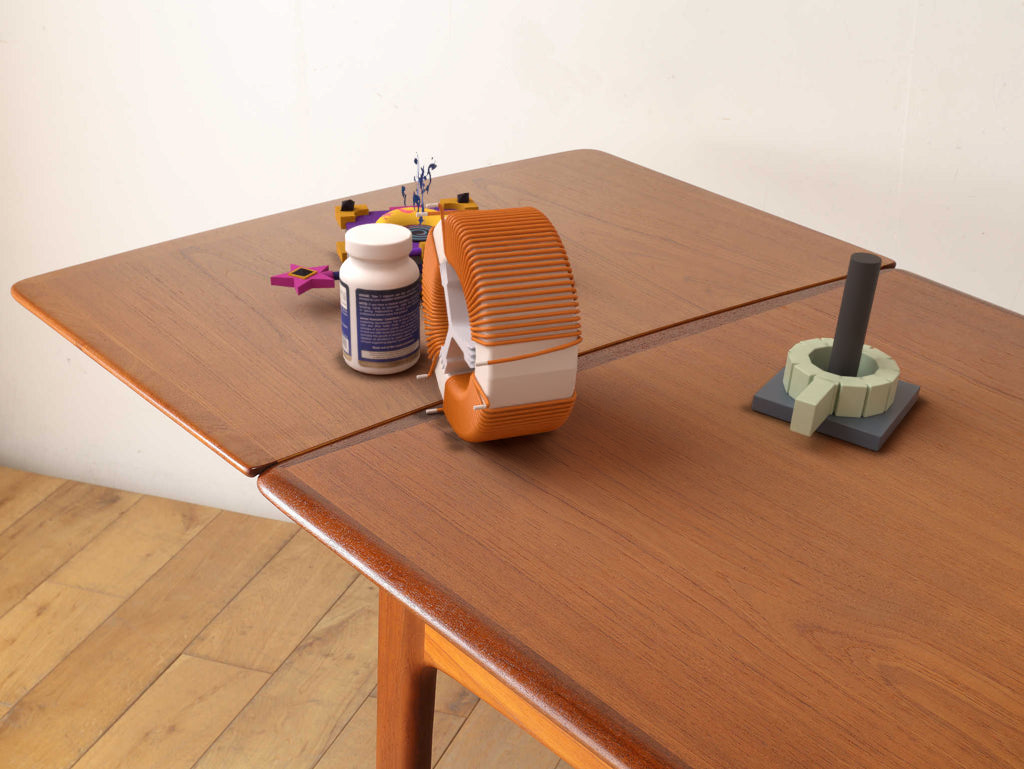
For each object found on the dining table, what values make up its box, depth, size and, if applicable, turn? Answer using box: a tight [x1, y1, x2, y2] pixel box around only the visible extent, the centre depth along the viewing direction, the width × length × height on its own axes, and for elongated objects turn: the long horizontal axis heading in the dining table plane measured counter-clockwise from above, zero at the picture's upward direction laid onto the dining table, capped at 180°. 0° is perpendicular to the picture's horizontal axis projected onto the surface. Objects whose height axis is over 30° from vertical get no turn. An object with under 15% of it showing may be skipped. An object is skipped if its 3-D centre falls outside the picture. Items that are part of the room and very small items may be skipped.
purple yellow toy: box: [269, 151, 480, 298], centre depth 90 cm, size 15×25×12 cm, turn 108°
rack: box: [751, 251, 922, 452], centre depth 72 cm, size 9×9×11 cm
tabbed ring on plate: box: [783, 337, 901, 438], centre depth 72 cm, size 7×11×2 cm
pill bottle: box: [339, 223, 421, 375], centre depth 76 cm, size 6×6×10 cm
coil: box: [416, 202, 584, 444], centre depth 67 cm, size 7×15×15 cm, turn 19°
